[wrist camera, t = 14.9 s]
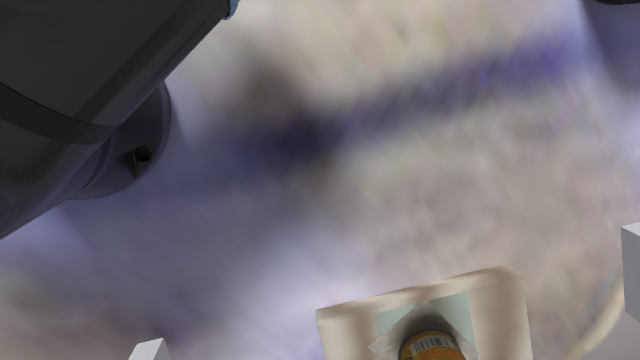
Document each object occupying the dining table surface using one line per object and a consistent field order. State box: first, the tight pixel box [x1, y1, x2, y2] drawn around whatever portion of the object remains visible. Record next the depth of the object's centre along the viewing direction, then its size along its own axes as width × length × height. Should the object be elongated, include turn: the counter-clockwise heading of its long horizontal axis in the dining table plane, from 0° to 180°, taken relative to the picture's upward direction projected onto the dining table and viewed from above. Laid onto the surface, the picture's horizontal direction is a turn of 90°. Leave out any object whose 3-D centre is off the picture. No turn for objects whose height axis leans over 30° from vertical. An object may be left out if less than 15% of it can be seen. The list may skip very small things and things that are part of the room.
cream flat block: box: [316, 264, 533, 360], centre depth 43 cm, size 20×12×6 cm, turn 103°
